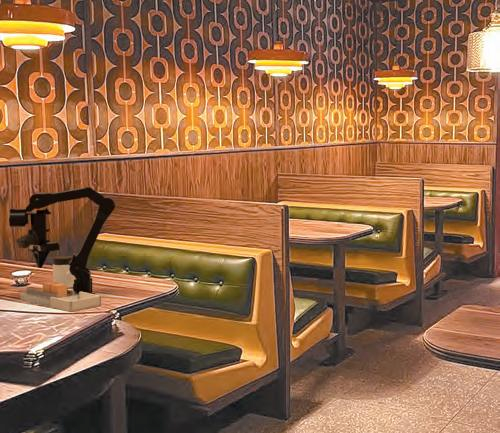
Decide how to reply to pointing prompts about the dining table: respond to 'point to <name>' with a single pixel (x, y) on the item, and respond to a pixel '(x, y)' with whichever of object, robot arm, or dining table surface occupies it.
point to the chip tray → (76, 302)
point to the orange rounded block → (48, 286)
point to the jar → (62, 270)
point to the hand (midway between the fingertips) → (40, 267)
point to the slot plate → (45, 296)
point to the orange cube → (59, 289)
